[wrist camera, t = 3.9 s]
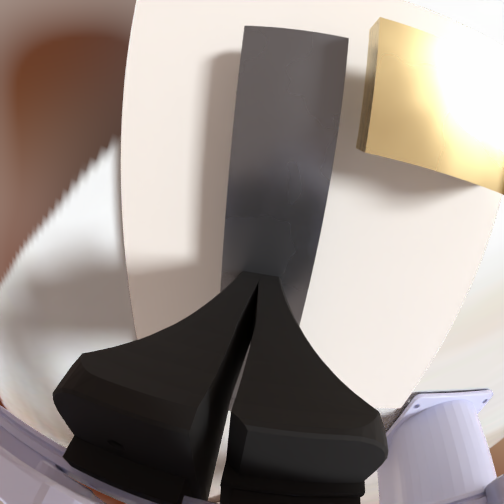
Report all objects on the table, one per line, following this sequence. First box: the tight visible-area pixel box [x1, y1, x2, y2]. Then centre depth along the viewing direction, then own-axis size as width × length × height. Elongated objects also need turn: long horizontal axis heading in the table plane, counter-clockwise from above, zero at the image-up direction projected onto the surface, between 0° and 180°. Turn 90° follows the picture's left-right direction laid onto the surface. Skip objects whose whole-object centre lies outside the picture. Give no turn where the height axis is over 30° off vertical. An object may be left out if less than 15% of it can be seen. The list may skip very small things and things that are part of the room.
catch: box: [356, 17, 504, 195], centre depth 6 cm, size 4×6×4 cm, turn 84°
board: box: [121, 0, 504, 408], centre depth 11 cm, size 20×16×4 cm
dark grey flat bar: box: [220, 26, 349, 411], centre depth 10 cm, size 16×3×1 cm, turn 174°
